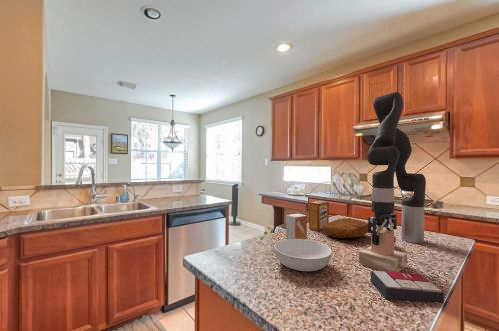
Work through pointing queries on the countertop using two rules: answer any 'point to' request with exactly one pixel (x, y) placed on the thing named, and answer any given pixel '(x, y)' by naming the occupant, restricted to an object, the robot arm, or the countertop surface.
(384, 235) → the terracotta block
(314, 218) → the baking soda box
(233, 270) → the countertop surface
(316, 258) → the serving bowl
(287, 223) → the small box
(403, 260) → the birch block
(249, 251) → the countertop surface
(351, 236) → the clay tablet
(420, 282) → the grey and red box
